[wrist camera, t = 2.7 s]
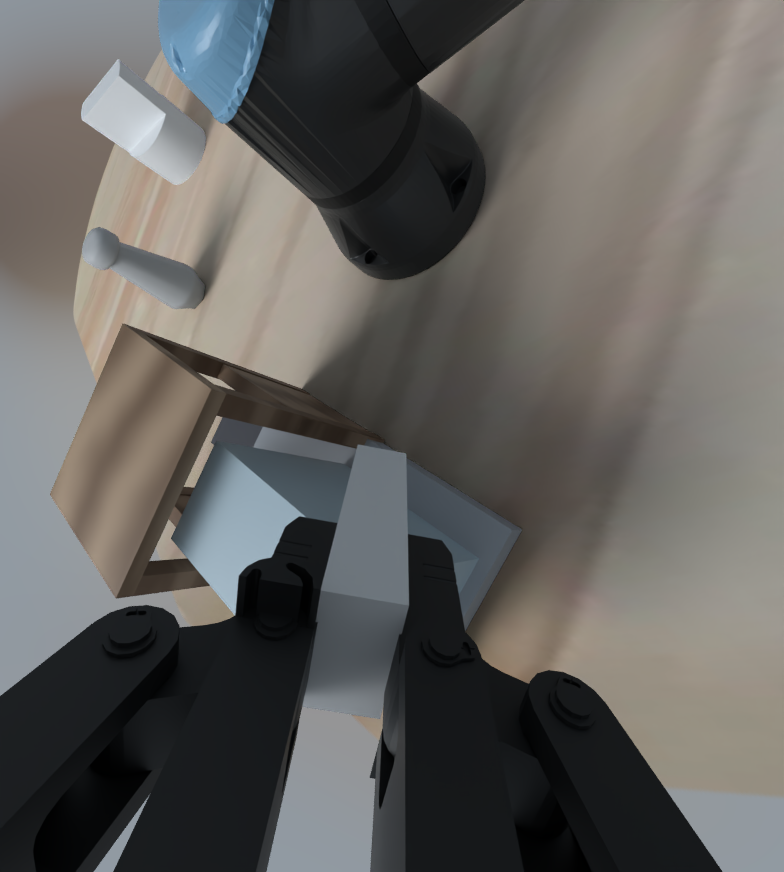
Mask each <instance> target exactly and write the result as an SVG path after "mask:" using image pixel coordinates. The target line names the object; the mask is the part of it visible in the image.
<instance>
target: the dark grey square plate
mask: <svg viewBox="0 0 784 872" xmlns="http://www.w3.org/2000/svg"><path fill="white" fill-rule="evenodd" d="M235 391H236V390H235ZM262 428H263V426H258V425H254V424H250V423H246V422H242V421H237V420H233V419H229V418H225V417H223V418H222V420H221V422H220V424H219V426H218V428H217V431H216V433H215V435H214V437H213V439H212V441H211V443H212V444H214V445H215V443H216V441H221V442H226V443H232V444H237V445H243V446H248V447H254V445H255V442H256V440H257V438H258V436H259V434H260V432H261V430H262Z"/></svg>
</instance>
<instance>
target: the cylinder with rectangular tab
mask: <svg viewBox="0 0 784 872" xmlns="http://www.w3.org/2000/svg"><path fill="white" fill-rule="evenodd" d="M81 115H82V116H81V117H82V120H83V121H84V122H86V123H87V124H89V125H90V126H91V127H93V128H94V129H96V130H97V131H99V132H100V133H102V134H103V135H105V136H106V137H107V138H109V139H110V140H112V141H113V142H115V143H116V144H118V145H119V146H120V147H122V148H123V149H125V150H126V151H128V152H129V153H130V155H131V156H133V157H134V158H135V159H137V160H138V161H140V162H141V163H143V164H144V165H146V166H147V167H149V168H150V169H152V170H153V171H154V172H156V173H157V174H159V175H160V176H162V177H163V178H165V179H166V180H168V181H169V182H171V183H172V184H174V185H179V184H181V183H183V182H185V181H186V180H187V179H188V178H189V177H190V176H191V175H192V174H193V173H194V171H195V170H196V168H197V167H198V165H199V163H200V161H201V159H202V156H203V153H204V150H205V145H206V136H205V132H204V130H203V129H202V128H201V127H200V126H199V125H197V124H196V123H195V122H194V121H193V120H192V119H190V118H189V117H188V116H187V115H186V114H184V113H183V112H182V111H181V110H180V109H179V108H177V107H176V106H175V105H174V104H173V103H172V102H170V101H169V100H168V99H167V98H166V97H164V96H163V95H161V94H160V93H158V92H157V91H156V90H155V89H154V88H153V87H151V86H150V85H149V84H148V83H147V82H145V81H144V80H143V79H142V78H140V77H139V76H138V75H137V74H136V73H135V72H134V71H132V70H131V69H130V68H129V67H128V66H126V65H125V64H124V63H123V62H122V61H121V60H119V59H118V60H117V61H116V63H115V64H114V65H113V66H112V67H111V69H110V70H109V71H108V72H107V74H106V75H105V76H104V77H103V79H102V80H101V81H100V82H99V84H98V85H97V86H96V87H95V89H94V90H93V91H92V92H91V94H90V95H89V96H88V97H87V99H86V100H85V101H84V103H83V105H82V111H81Z"/></svg>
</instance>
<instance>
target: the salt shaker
mask: <svg viewBox="0 0 784 872" xmlns="http://www.w3.org/2000/svg"><path fill="white" fill-rule="evenodd" d="M82 255H83V258H84V260H85V262H87V263H88V264H90V265H92V266H93V267H95V268H98V269H100V270H106V269H109V268H110V269H112V270H113V271H115V272H116V273H118V274H119V275H121V276H122V277H124V278H125V279H127V280H129V281H130V282H132V283H133V284H135V285H136V286H138V287H139V288H141V289H143V290H144V291H146V292H147V293H149V294H150V295H152V296H153V297H155V298H157V299H158V300H160V301H161V302H163V303H164V304H166V305H167V306H169V307H171V308H173V309H184V308H192V309H195V308H196V307H197V306H198V304H199V303H200V302H201V301H202V300H203V297H204V291H205V285H204V283H203V282H202V281H201V279H200V278H199V277H198V275H197V274H196V272H195V271H194V270H193V269H192V268H191V267H189V266H188V265H186V264H184V263H181V262H178V261H175V260H172V259H169V258H166V257H163V256H160V255H157V254H154V253H151V252H148V251H145V250H142V249H139V248H136V247H133V246H130V245H127V244H124V243H121V242H119V239H118V237H117V236H116V235H115V234H113V233H111V232H110V231H108V230H106V229H104V228H101V227H98V228H95V229H92V230H91V231H90V232H89V233H88V235H87V237H86V238H85V241H84V244H83V247H82Z"/></svg>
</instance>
